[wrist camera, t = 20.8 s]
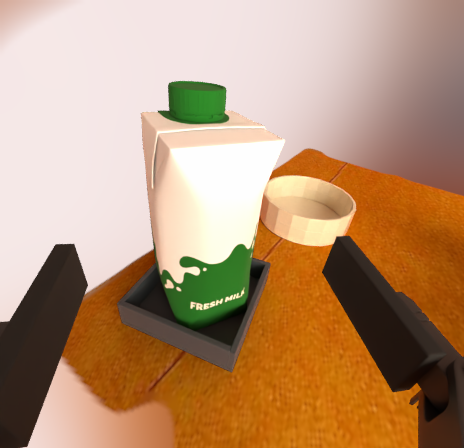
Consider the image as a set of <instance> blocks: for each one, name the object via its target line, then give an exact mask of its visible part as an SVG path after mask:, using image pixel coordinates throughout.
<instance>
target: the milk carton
mask: <svg viewBox="0 0 464 448" xmlns="http://www.w3.org/2000/svg"><path fill="white" fill-rule="evenodd" d="M168 93H169V111H158V112H143V113H141V119H142V137H143V149H144V157H145V165H146V179H147V190H148V200H149V208H150V218H151V227H152V236H153V245H154V254H155V260H156V266H157V269H158V273H159V276H160V279H161V282H162V285H163V288H164V290H165V293H166V296H167V298H168V301H169V304H170V306H171V309H172V311H173V314H174V317H175V319H176V322H177V324H179V325H182V326H184V327H186V328H189V329H191V330H193V331H196V330H199V329H202V328H204V327H207V326H210V325H212V324H215V323H218V322H220V321H223V320H226V319H228V318H231V317H233V316H236V315H239V314H241V313H244V312H246V310H247V302H248V290H249V278H250V267H251V261H252V256H253V250H254V244H255V238H256V233H257V227H258V221H259V215H260V210H261V204H262V199H263V193H264V190H265V187H266V185H267V182H268V180H269V178H270V175H271V173H272V171H273V168H274V166H275V163H276V161H277V159H278V156H279V154H280V152H281V149H282V147H283V145H284V142H285V140H283V139H282V138H280V137H278V136H276V135H274V134H273V133H271V132H269V131H267V130H266V128H265V127H264V126H263V125H261V124H259V123H255V122H253V121H251V120H249V119H247V118H245V117H243V116H241V115H240V114H237V113H235V112H233V111H225V104H226V88H225V87H223V86H220V85H217V84H212V83H205V82H193V81H176V82H171V83H169V85H168Z"/></svg>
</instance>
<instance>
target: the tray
mask: <svg viewBox="0 0 464 448" xmlns="http://www.w3.org/2000/svg"><path fill="white" fill-rule="evenodd" d="M269 268H270V263H268V262H265V261H262V260H258V259H255V258H252V261H251V267H250V278H249V290H248V302H247V310H246V312H244V313H241V314H239V315H236V316H233V317H231V318H228V319H226V320H223V321H220V322H218V323H215V324H212V325H210V326H207V327H204V328H202V329H199V330H196V331H193V330H191V329H189V328H186V327H184V326H182V325H179V324H177V322H176V319H175V317H174V314H173V311H172V309H171V306H170V304H169V301H168V298H167V296H166V293H165V290H164V288H163V285H162V282H161V279H160V276H159V273H158V269H157V266H156V263H155V264H154V265H153V266H152V267H151V268H150V269H149V270H148V271H147V272H146V273H145V274H144V275H143V276H142V277H141V278H140V279H139V281H138V282H137V283H136V284H135V285H134V286H133V287H132V288H131V289H130V290H129V291H128V292H127V293H126V294H125V295H124V296H123V298H122V299H121V300H120V301H119V302H118V303H117V306H118V309H119V313H120V317H121V321H122V323H123V324H126V325H128V326H130V327H132V328H134V329H137V330H139V331H141V332H143V333H146V334H148V335H150V336H152V337H154V338H157V339H159V340H161V341H163V342H166V343H168V344H170V345H172V346H174V347H177V348H179V349H181V350H183V351H186V352H188V353H190V354H192V355H194V356H197V357H199V358H201V359H203V360H206V361H208V362H210V363H212V364H214V365H217V366H219V367H221V368H223V369H226V370H228V371H230V372H232V371H233V368H234V365H235V363H236V360H237V357H238V355H239V352H240V350H241V347H242V344H243V342H244V339H245V336H246V334H247V331H248V329H249V326H250V323H251V321H252V318H253V315H254V313H255V310H256V308H257V305H258V302H259V300H260V297H261V294H262V292H263V289H264V286H265V284H266V281H267V277H268V273H269Z"/></svg>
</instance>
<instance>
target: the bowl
mask: <svg viewBox="0 0 464 448" xmlns="http://www.w3.org/2000/svg"><path fill="white" fill-rule="evenodd" d="M355 211H356V203H355V201H354V200H353V198H352V197H351V196H350V195H349V194H348V193H347V192H345V191H344V190H343V189H341V188H339V187H337V186H335V185H333V184H331V183H328V182H326V181H323V180H320V179H316V178H311V177H306V176H296V175H292V176H280V177H276V178H273V179H271V180H269V181H268V182H267V185H266V187H265V190H264V193H263V199H262V204H261V210H260V218H261V220H262V222H263V224H264V225H265V226H266V227H267V228H268V229H269V230H270V231H272V232H273V233H275V234H276V235H278V236H280V237H282V238H284V239H286V240H289V241H291V242H294V243H298V244H303V245H310V246H324V245H330V244H333V243H334V241H335V239H336V236H344V235H345V233H346V232H347V230H348V228H349V225H350V223H351V220H352V218H353V216H354V213H355Z"/></svg>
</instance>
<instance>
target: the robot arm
mask: <svg viewBox="0 0 464 448" xmlns="http://www.w3.org/2000/svg"><path fill="white" fill-rule="evenodd" d="M322 273H323V274H324V276H325V278H326V280H327V281H328V283H329V285H330V286H331V288H332V290H333V291H334V293H335V295H336V297H337V298H338V300H339V302H340V303H341V305H342V307H343V308H344V310H345V312H346V313H347V315H348V317H349V319H350V320H351V322H352V324H353V325H354V327H355V329H356V330H357V332H358V334H359V336H360V337H361V339H362V341H363V342H364V344H365V346H366V347H367V349H368V351H369V353H370V354H371V356H372V358H373V359H374V361H375V363H376V364H377V366H378V368H379V369H380V371H381V373H382V375H383V376H384V378H385V380H386V381H387V383H388V385H389V386H390V388H391V390H392V392H397V391H404V390H409V389H411V388H412V387H413V386H414V385H415V384H416V383H418V385H419V386H420V388H421V390H420V391H419V392H418V393H417V394H416V395H415V396H414V397H412V398H411V400H410V403H409V404H411V405H413V404H415V403H416V402H417V401H418V400H419V405H418V406H417V408H418V409H419V411H418V448H464V357H462V356H461V355H460V354H459V353H458V352H457V351H456V350H455V348H454V347H453V346H452V345H451V344H450V343H449V342H448V340H447V339H446V338H445V337H444V336H443V335H442V334H441V332H440V331H439V330H438V329H437V328H436V327H435V325H434V324H433V323H432V322H431V321H429V319H428V317H427V316H426V315H425V314H424V313H422V310H421V309H420V308H419V307H418V306H417V305H416V304H415V302H414V301H413V300H411V299H410V298H409V297H407V296H406V295H405V294H403V293H402V292H395V290H394V289H393V288H392V287H391V286H390V284H389V283H388V282H387V281H386V280H385V278H384V277H383V276H382V275H381V274H380V272H379V271H378V270H377V269H376V268H375V266H374V265H373V264H372V263H371V262H370V260H369V259H368V258H367V257H366V256H365V254H364V253H363V252H362V251H361V249H360V248H359V247H358V246H357V245H356V243H355V242H354V241H353V240H352V239H351V237H350V236H336V239H335V241H334V244H333V246H332V249H331V251H330V254H329V256H328V259H327V261H326V264H325V266H324V269H323V271H322ZM87 286H88V284H87V281H86V278H85V275H84V272H83V269H82V266H81V263H80V260H79V257H78V254H77V251H76V248H75V245H74V244H56V245H55V246H54V248H53V250H52V251H51V253H50V255H49V256H48V258H47V260H46V262H45V263H44V265H43V266H42V268H41V270H40V271H39V273H38V275H37V277H36V278H35V280H34V281H33V283H32V285H31V286H30V288H29V290H28V291H27V293H26V295H25V296H24V298H23V300H22V301H21V303H20V305H19V306H18V308H17V310H16V311H15V313H14V315H13V316H12V318H11V320H10V321H8V322H0V448H22V447H27V446H28V443H29V441H30V438H31V435H32V433H33V430H34V427H35V425H36V422H37V419H38V417H39V414H40V411H41V409H42V406H43V403H44V400H45V398H46V395H47V393H48V390H49V387H50V385H51V382H52V379H53V376H54V374H55V371H56V369H57V366H58V363H59V361H60V358H61V355H62V353H63V350H64V347H65V345H66V342H67V339H68V337H69V334H70V331H71V329H72V326H73V323H74V321H75V318H76V315H77V313H78V310H79V307H80V305H81V302H82V299H83V297H84V294H85V291H86V289H87Z"/></svg>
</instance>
